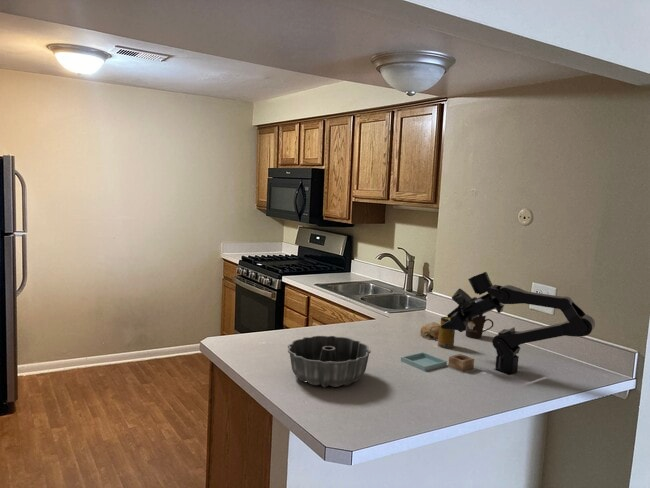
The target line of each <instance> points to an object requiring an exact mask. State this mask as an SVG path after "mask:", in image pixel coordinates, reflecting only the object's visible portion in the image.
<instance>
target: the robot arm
mask: <svg viewBox="0 0 650 488" xmlns="http://www.w3.org/2000/svg"><path fill="white" fill-rule="evenodd" d="M467 280H468V282H469V284H470V287H471V288H472V290H473V292H474V294H476V295H479V296H480V295H481V296H480V297H477V296H476V297H475V296H474V297H471V296H470V295H469V294H468V293H467V292H466V291H465V290H463V289H462V288H458V289H457V290H456V291H455V292H454V294H453V295H452V297H451V299H452V300H453V302H454V303H456V304H457V305H458V306H457V307H456V308H454V309H453V310H452V311H450V312H449V313H448V314H447V316H446V317H448V318H451V319H450V320H449V321H447V322H446V323H444V324H443V325H441V328H442V329H453V330H455V331H458V332H459V333H463V332H466V328H467V326H468V322H467V319H468V320H469V321H472V320H473V318H475V317H477V316H479V317H482V316H483V314H484V313H485V314H486V313H489V312H491V311H493V310H496V311H497V313H498V314H501V313H502V312H503V311H504V307H505V305H519V304H522V305H523V304H525V305H530V306H531V305H532V306H538V307H543V308H544V307H545V308H550V309H555V310H556V309H557V310H560V311H561V313H562V315H564V317H565V318H566V321H564V322H560V323H556V324H551V325H546V326H541V327H537V328H532V329H527V330H522V331H518V330H516V328H515V327H511V328H507V329H505V328H504V329H502V330H500V331H499V332H497V334H496V335H495V336H494V337H493V339H492V341H491V342H492V346H493V348H494V349H495V351H496V354H497V356H496V357H495V368H493V371H496V372H499V373H501V374H505V375H508V376H511V375H515V374H518V373H520V372H521V371H519V370H518V368H519V359H520V356H518V355H517V354H519V352H520V351H521V347H520V345H522V344H528V343H532V342H538V341H543V340H550V339H554V338H558V337H573V338H574V337H586V336H587V337H588V336H589V335H591V333H592V331H594V329H595V327H596V322H595V319H594V318H593V317H592V316H590V315H588V314H586V312H585V311H584V310H583V309H582V308H581V307H579V305H577V304H576V303H575V302H574V301H573V300H572V298H571V297H569V296H561V295H552V294H546V293H538V292H534V291H533V292H532V291H528V290H524V289H522V288H520V287H518V286H515V285H510V284H506V285H503V286H502V285H498V284H493V283H492V281H491V279H490V276H489V274H488V272H487V271H485V272H484V271H483V272H481V273H480V274H477V275H474V276H471V277H469V278H468V279H467ZM485 293H486V294H485Z"/></svg>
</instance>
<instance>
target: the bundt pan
mask: <svg viewBox="0 0 650 488" xmlns="http://www.w3.org/2000/svg"><path fill="white" fill-rule="evenodd" d="M287 352H288V354H289V358H290V364H291V370H292V372H293V374H294V376H296V377H297V378H298V379H299V380H300V381H301V382H302V381H307V382H308V384H310V385H312V386H320V385H321V386H322V387H323V388H327V387H328V386H331V387H333V388H335V387H336V388H338V387H341V386H345V385H346V386H349V385H351V384H352V383H355V382H357V381H358V380H360V379H361V378H362V376H363V375H364V374H365V373H366V370H367V366H368V361H369V356H370V354H371V349H369V346H368V345H367V344H365V343H363V342H361V341H360V340H356V339H353V338H349V337H344V336H335V335H314V336H310V337H309V336H305V337H303V338H301V339H296V340H295V339H294V340H293V341H292V342H291V343H290V344H288V345H287Z"/></svg>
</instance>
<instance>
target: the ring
mask: <svg viewBox="0 0 650 488" xmlns="http://www.w3.org/2000/svg"><path fill="white" fill-rule="evenodd" d="M447 365H448V366H449V367H451V368H454V369H456V370H459V371H462V372H463V371H467V370H470V369H473V368H475V358H473V357H470V356H468V355H465V354H462V353H459V354H453V355H450V356H448V364H447Z"/></svg>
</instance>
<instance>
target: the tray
mask: <svg viewBox="0 0 650 488" xmlns="http://www.w3.org/2000/svg"><path fill="white" fill-rule="evenodd" d="M400 362H401V363H404V364H406V365H409V366H411V367H413V368H416V369H418V370H420V371H422V372H427V371H431V370H434V369H439V368H442V367H445V366H446V365H448V361H447V360H444V359H442V358H440V357H437V356H434V355H431V354H429V353H427V352H423V351H421V352H417V353H413V354H412V353H411V354H409V355H403V356H401V357H400Z"/></svg>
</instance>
